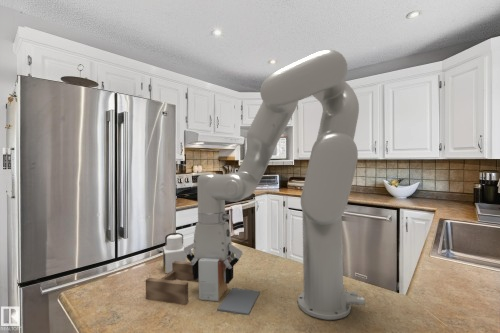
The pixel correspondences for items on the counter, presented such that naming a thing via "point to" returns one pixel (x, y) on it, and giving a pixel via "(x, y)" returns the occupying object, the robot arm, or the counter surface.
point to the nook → (171, 284)
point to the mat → (239, 301)
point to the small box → (211, 279)
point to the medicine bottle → (173, 251)
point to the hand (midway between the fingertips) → (212, 279)
